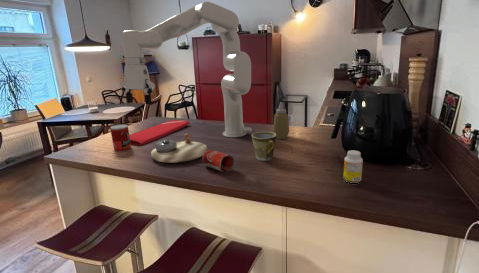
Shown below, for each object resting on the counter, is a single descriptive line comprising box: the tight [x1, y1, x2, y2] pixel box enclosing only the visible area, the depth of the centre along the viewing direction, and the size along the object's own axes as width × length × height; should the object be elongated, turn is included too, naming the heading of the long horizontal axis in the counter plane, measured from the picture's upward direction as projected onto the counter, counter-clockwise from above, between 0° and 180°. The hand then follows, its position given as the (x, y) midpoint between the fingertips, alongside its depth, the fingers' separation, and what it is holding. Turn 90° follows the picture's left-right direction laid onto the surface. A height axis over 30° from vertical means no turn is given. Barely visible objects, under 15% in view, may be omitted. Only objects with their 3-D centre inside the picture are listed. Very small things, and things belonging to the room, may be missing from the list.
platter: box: [150, 133, 208, 164], centre depth 125 cm, size 24×24×5 cm
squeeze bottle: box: [272, 101, 290, 140], centre depth 142 cm, size 8×8×18 cm
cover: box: [155, 139, 177, 153], centre depth 126 cm, size 9×9×4 cm
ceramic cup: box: [251, 131, 277, 162], centre depth 116 cm, size 13×10×10 cm
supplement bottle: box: [342, 149, 364, 184], centre depth 94 cm, size 6×6×10 cm
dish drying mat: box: [129, 119, 191, 147], centre depth 162 cm, size 16×41×4 cm, turn 153°
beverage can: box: [201, 149, 235, 174], centre depth 109 cm, size 7×12×7 cm, turn 46°
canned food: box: [110, 124, 132, 152], centre depth 137 cm, size 8×8×11 cm
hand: (139, 103), depth 123 cm, fingers open, 9 cm apart
